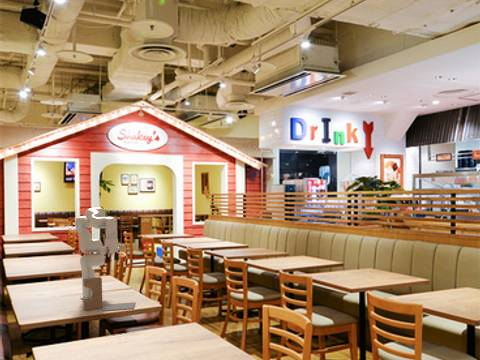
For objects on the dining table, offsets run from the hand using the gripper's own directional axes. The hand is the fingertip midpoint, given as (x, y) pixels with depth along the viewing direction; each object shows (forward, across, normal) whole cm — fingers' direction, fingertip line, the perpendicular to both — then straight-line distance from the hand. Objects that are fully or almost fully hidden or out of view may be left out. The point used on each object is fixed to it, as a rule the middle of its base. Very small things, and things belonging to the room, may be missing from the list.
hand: (112, 261), depth 315 cm
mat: (+31, 0, +4) cm, 31 cm away
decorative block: (+31, +6, -11) cm, 34 cm away
